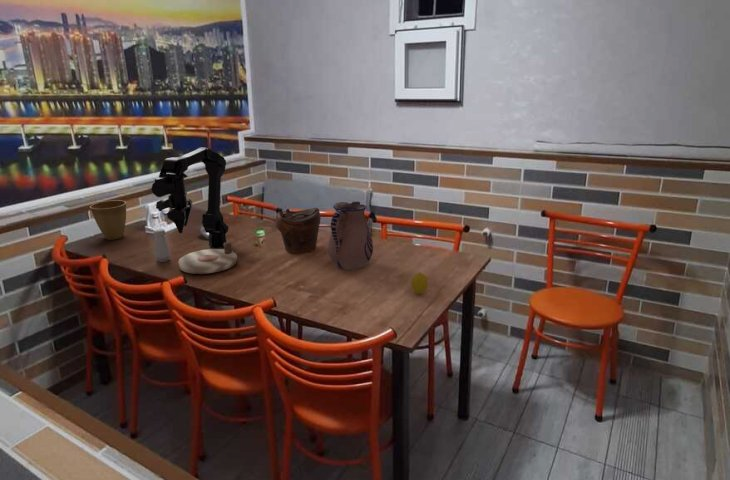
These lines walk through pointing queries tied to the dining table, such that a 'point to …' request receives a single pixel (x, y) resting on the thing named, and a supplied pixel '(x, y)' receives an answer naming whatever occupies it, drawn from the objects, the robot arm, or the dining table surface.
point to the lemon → (419, 283)
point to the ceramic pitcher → (350, 236)
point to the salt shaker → (161, 246)
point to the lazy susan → (208, 260)
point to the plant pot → (110, 218)
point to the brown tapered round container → (299, 229)
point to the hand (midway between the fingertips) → (183, 229)
